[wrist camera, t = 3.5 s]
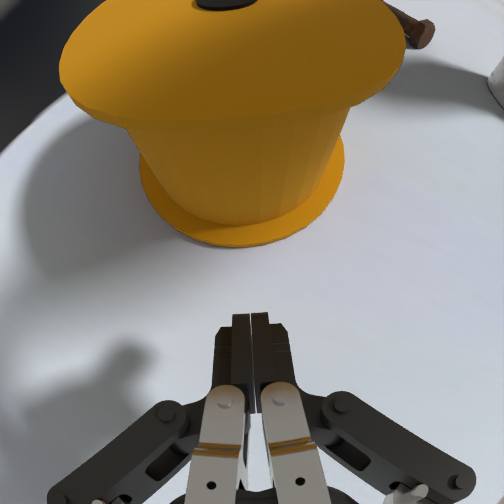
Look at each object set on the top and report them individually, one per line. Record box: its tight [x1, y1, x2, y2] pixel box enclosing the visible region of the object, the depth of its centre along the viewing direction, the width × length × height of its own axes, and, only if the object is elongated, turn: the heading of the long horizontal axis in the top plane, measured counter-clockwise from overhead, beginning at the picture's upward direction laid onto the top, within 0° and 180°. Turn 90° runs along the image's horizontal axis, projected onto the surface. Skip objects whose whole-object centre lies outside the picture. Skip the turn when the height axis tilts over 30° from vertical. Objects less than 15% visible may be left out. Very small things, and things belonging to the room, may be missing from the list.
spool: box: [59, 0, 406, 248], centre depth 18 cm, size 18×18×15 cm
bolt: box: [381, 0, 435, 49], centre depth 29 cm, size 6×5×15 cm
